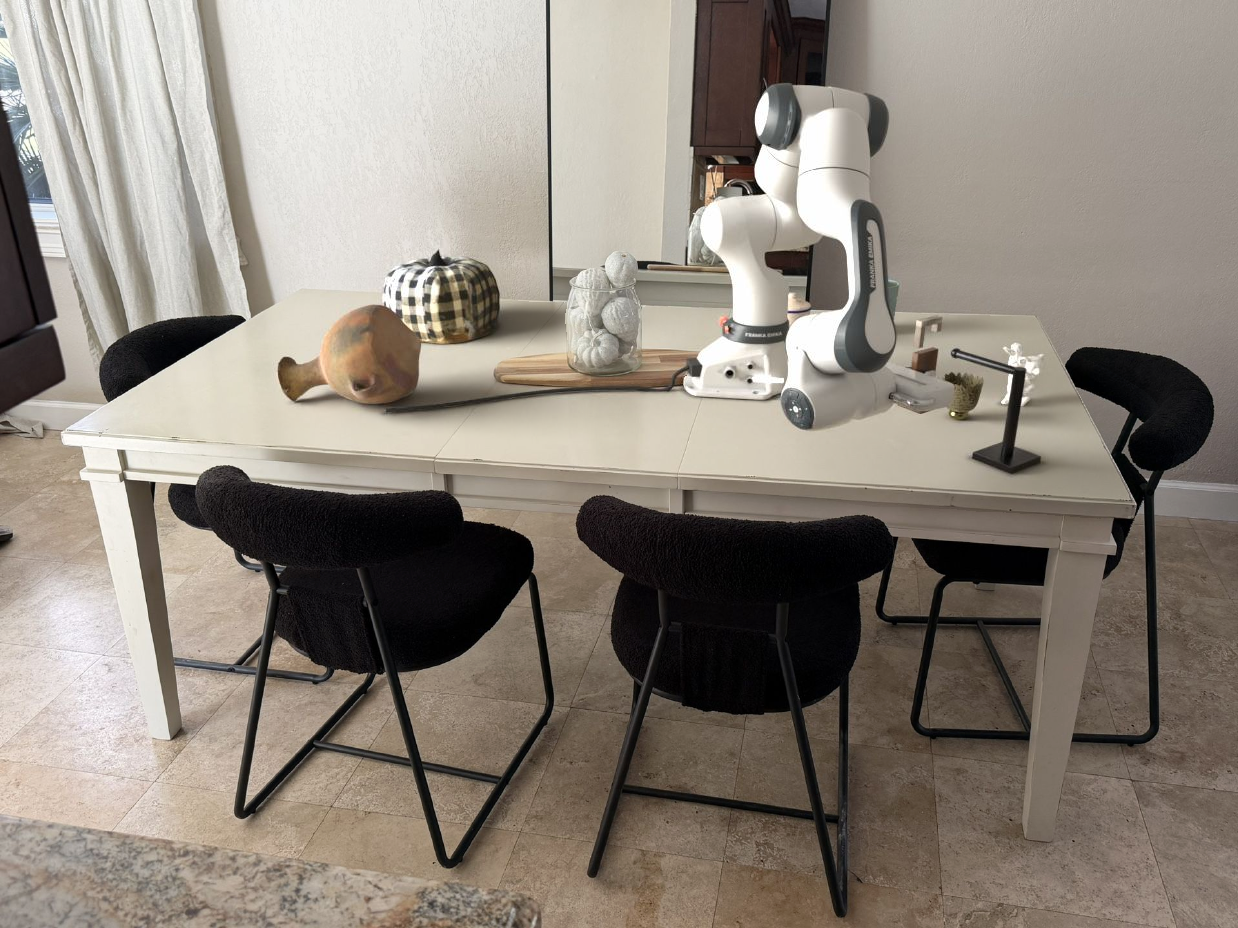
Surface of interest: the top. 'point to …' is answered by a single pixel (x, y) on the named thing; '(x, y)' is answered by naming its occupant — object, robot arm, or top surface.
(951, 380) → the cup
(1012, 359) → the white figurine
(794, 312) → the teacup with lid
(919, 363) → the hanger
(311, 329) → the top surface
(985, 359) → the stand
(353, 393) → the jug
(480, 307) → the decorative pumpkin
